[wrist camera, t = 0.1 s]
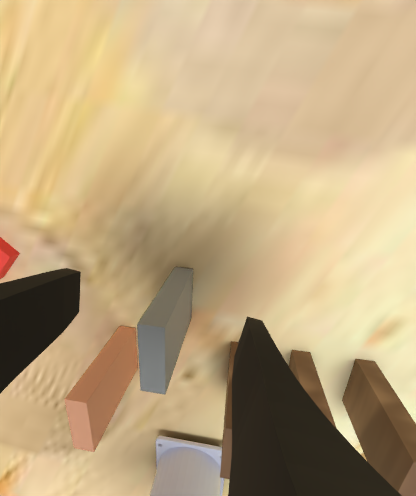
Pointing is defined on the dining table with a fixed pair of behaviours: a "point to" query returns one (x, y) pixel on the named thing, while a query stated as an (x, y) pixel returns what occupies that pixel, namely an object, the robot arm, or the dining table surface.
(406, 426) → the brown wooden block
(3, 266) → the bracket
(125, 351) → the domino
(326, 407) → the domino
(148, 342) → the gap domino
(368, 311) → the dining table surface
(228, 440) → the domino
